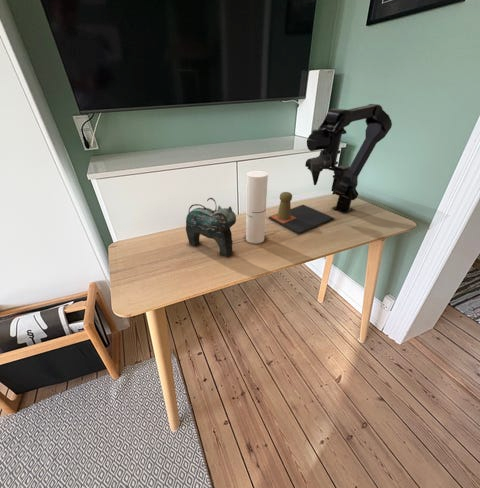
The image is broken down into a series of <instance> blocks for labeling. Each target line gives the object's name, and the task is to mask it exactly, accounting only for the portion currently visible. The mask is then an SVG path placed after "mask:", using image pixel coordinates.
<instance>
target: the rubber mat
mask: <svg viewBox="0 0 480 488" xmlns="http://www.w3.org/2000/svg"><path fill="white" fill-rule="evenodd" d="M277 215H278V213H276V214H274V215H270V216H269V217H268V219H269V220H271V221H272V222H275V223H276V224H278V225H280V226H281V227H284V228H286V229H288V230H290V231H291V232H293V233H295V234H297V235H300V234H303V233H305V232H307V231H309V230H312V229H315V228H318V227H319V226H321V225H324V224H326V223H328V222H330V221H333V220H334V217H333V216H331V215H329V214H326V213H324V212H322V211H319V210H316V209H314V208H312V207H309V206H307V205H306V204H301V205H299V206H296V207H292V208H291V218H290V219H289V220H280V219H278V218H277Z"/></svg>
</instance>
